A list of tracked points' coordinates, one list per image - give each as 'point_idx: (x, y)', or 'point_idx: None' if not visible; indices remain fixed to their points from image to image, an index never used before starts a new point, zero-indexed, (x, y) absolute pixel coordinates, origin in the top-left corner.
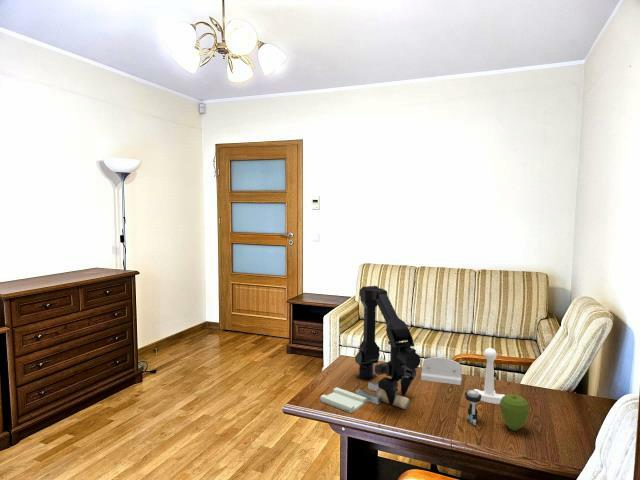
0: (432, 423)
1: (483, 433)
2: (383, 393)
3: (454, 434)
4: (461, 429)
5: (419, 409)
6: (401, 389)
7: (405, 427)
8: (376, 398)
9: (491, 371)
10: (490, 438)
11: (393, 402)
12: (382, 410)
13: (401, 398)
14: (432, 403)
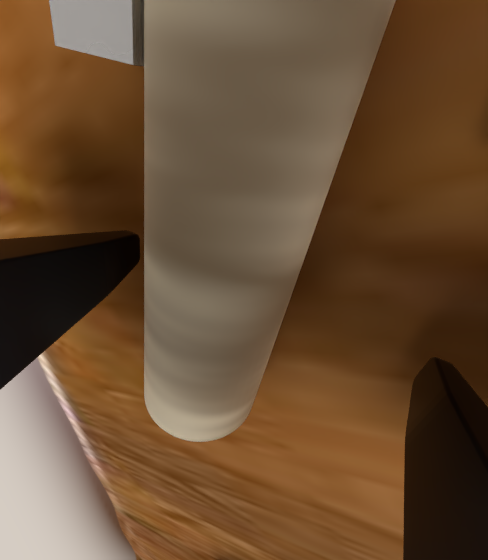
0: (148, 446)
1: (190, 555)
2: (147, 106)
3: (129, 484)
4: (173, 516)
5: (255, 430)
6: (456, 428)
7: None
8: (62, 6)
9: None
10: (174, 554)
11: (110, 285)
12: (81, 161)
13: (150, 384)
14: (395, 530)
